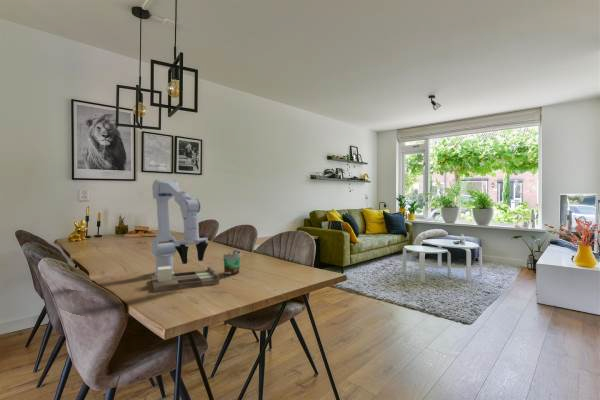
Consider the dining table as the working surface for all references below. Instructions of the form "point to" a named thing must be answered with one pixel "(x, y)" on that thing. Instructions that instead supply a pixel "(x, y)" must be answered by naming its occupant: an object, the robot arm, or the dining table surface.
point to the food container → (232, 263)
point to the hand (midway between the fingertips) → (192, 262)
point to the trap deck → (186, 280)
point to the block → (164, 273)
